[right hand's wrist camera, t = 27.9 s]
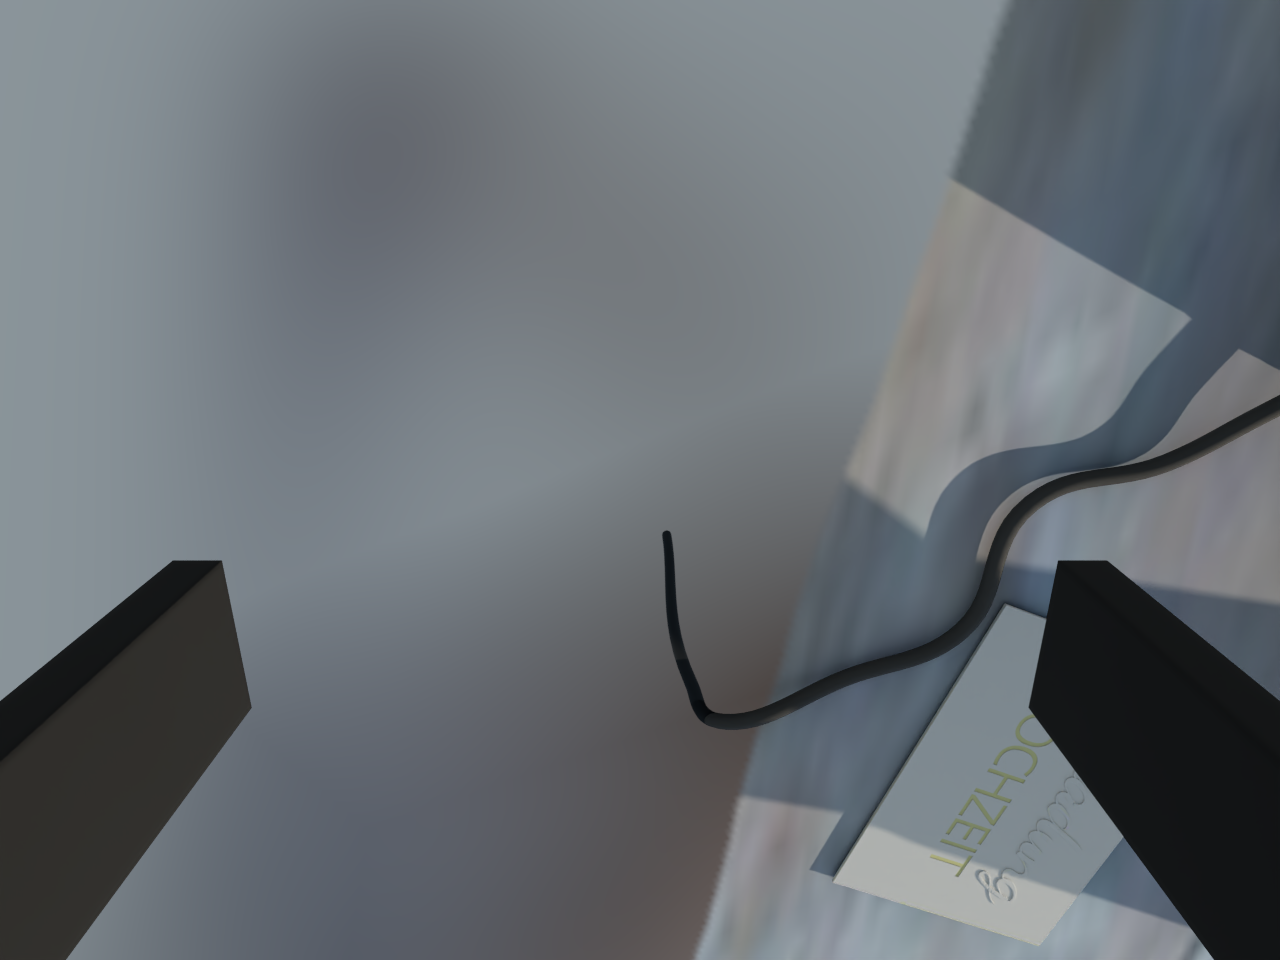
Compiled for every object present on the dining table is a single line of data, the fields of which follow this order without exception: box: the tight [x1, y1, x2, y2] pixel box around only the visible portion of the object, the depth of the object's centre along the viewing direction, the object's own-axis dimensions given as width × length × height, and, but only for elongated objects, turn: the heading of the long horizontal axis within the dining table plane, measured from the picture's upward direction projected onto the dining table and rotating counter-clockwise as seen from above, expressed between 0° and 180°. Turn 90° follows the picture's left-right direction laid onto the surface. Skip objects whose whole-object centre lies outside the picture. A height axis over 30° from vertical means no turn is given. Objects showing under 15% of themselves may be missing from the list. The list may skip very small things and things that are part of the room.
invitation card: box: [832, 604, 1123, 946], centre depth 48 cm, size 21×1×15 cm
